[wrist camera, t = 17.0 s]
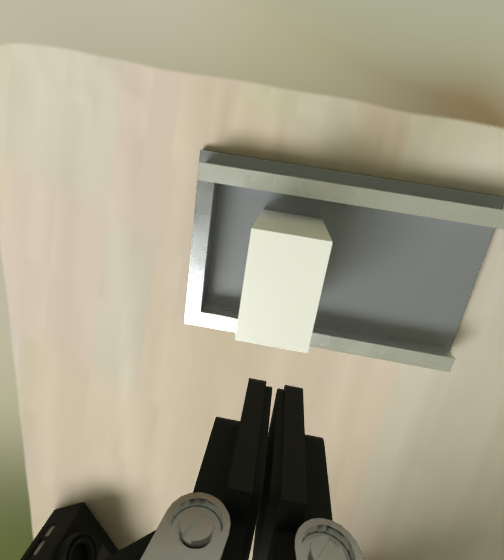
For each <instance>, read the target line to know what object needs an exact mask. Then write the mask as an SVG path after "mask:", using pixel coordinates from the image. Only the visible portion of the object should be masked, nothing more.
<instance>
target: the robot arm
mask: <svg viewBox="0 0 504 560" xmlns="http://www.w3.org/2000/svg"><path fill="white" fill-rule="evenodd" d="M271 396H272V387H268V386H266V381H262V380H257V379H251V378H249V382H248V387H247V392H246V397H245V401H244V406H243V411H242V416H241V421H235V420H230V419H225V418H220V417H216V419H215V422H214V425H213V429H212V432H211V435H210V438H209V442H208V445H207V448H206V452H205V455H204V458H203V461H202V465H201V468H200V471H199V475H198V478H197V481H196V485H195V488H194V491H193V493H189V494H186V495H184V496H181V497H180V498H178V499H177V500H176V501H174V502H173V503H172V504H171V506H170V507H169V508H168V510H167V511H166V513H165V515H164V517H163V519H162V521H161V522H160V524H159V526H158V528H157V530H155V531H153V532H152V533H150V534H148V535H146V536H145V537H143V538H141V539H139V540H138V541H136V542H134V543H132V544H130V545H129V546H127V547H125V548H123V549H122V550H120V551H118V552H116V553H114V554H113V555H111V556H109V557H107V558H106V559H104V560H248V559H249V554H250V550H251V545H252V540H253V535H254V531H255V538H254V548H253V557H252V560H363V557H362V554H361V551H360V549H359V547H358V544H357V542H356V541H355V539H354V538H353V537H352V536H351V534H350V533H349V532H348V531H347V530H346V529H344V528H343V527H342V526H341V525H339V524H337V523H335V522H333V521H332V512H331V502H330V493H329V484H328V474H327V465H326V456H325V446H324V440H323V438H320V437H315V436H310V435H305V431H304V405H303V389H302V388H298V387H293V386H288V385H285V387H284V390H283V389H277V393H276V398H275V403H274V408H273V413H272V418H271V422H270V427H269V417H270V407H271ZM268 428H269V432H268ZM255 526H256V529H255Z"/></svg>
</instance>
